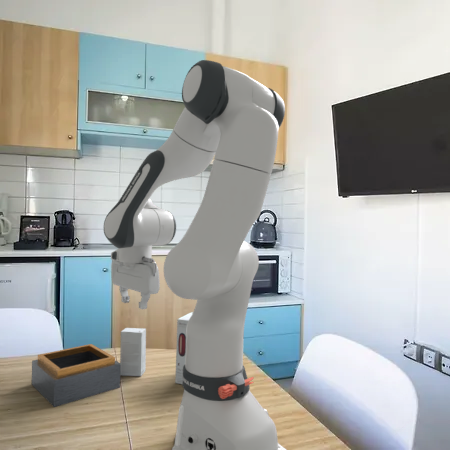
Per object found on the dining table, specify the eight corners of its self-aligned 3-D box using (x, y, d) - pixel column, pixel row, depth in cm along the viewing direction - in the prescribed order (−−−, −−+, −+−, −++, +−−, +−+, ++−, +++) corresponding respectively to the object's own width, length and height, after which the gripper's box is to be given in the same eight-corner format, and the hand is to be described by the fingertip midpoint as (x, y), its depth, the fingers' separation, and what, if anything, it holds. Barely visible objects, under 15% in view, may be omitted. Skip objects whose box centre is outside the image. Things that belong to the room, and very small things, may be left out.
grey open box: (119, 387, 95) (120, 357, 95) (54, 407, 84) (54, 373, 84) (88, 365, 109) (88, 339, 109) (27, 380, 98) (28, 351, 98)
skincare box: (145, 370, 106) (146, 328, 106) (141, 377, 102) (141, 332, 102) (124, 369, 107) (125, 327, 107) (119, 375, 103) (120, 331, 103)
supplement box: (174, 383, 98) (175, 318, 98) (188, 371, 107) (190, 311, 107) (208, 389, 95) (209, 322, 95) (220, 375, 104) (222, 314, 104)
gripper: (166, 258, 99) (164, 311, 99) (127, 252, 114) (126, 298, 114) (145, 259, 95) (143, 314, 95) (108, 252, 110) (106, 300, 110)
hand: (133, 305), depth 105 cm, fingers open, 8 cm apart
